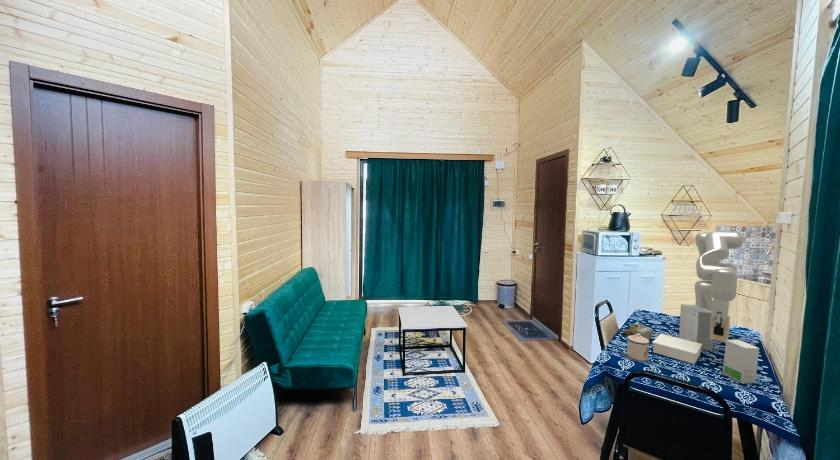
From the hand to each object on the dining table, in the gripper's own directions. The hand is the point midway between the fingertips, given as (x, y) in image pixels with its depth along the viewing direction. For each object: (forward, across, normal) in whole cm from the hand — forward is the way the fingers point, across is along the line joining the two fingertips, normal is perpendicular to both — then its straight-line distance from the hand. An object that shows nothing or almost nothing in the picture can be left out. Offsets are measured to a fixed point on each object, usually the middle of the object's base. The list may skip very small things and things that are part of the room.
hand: (719, 333), depth 149 cm
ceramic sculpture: (+15, -8, -34) cm, 38 cm away
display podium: (+15, +2, -15) cm, 21 cm away
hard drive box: (+15, -19, -11) cm, 27 cm away
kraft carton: (+3, 0, 0) cm, 3 cm away
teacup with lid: (+14, +21, -27) cm, 37 cm away
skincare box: (+15, +12, +8) cm, 20 cm away
